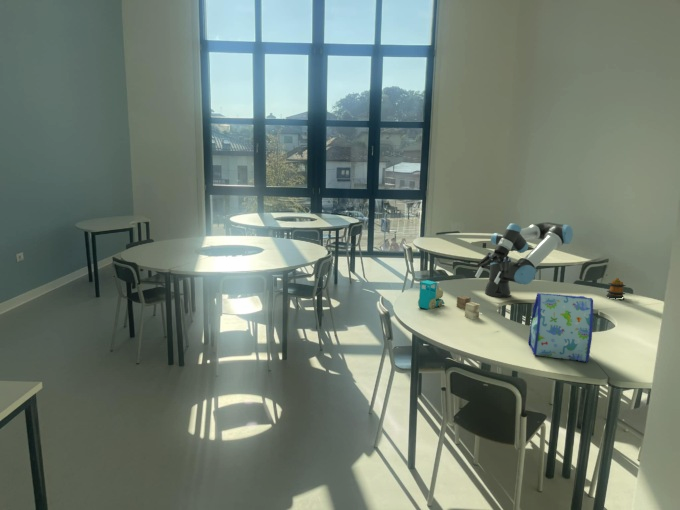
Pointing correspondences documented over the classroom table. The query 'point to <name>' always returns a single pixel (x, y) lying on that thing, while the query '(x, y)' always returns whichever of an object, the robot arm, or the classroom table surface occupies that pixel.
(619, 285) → the orange tiered tower
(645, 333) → the classroom table surface
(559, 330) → the lunch bag
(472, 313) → the maple block
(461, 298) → the walnut block
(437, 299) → the toy train
